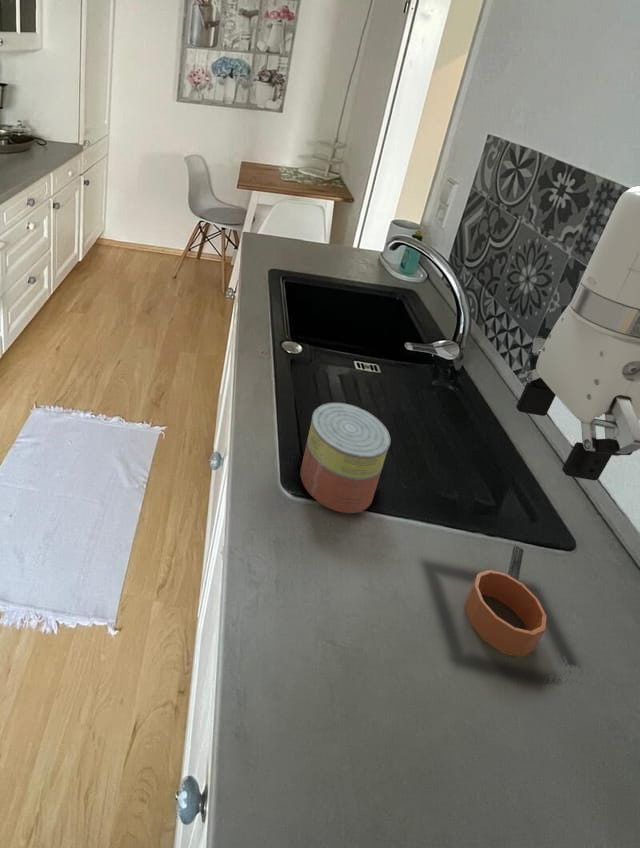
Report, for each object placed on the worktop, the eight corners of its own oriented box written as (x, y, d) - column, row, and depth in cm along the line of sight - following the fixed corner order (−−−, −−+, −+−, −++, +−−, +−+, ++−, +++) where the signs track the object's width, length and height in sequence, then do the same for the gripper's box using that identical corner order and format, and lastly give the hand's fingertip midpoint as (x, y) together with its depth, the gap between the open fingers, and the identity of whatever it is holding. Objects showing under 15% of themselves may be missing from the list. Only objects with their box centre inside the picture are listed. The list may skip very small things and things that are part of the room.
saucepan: (526, 675, 57) (543, 648, 55) (457, 627, 61) (470, 601, 59) (538, 589, 67) (552, 563, 65) (477, 553, 71) (489, 528, 69)
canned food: (375, 476, 82) (392, 418, 78) (369, 530, 73) (388, 468, 68) (306, 450, 87) (318, 393, 82) (291, 498, 77) (305, 437, 73)
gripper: (738, 369, 42) (644, 514, 48) (603, 279, 58) (546, 397, 64) (640, 353, 43) (560, 499, 49) (533, 269, 59) (484, 387, 65)
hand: (552, 441), depth 57 cm, fingers open, 9 cm apart
